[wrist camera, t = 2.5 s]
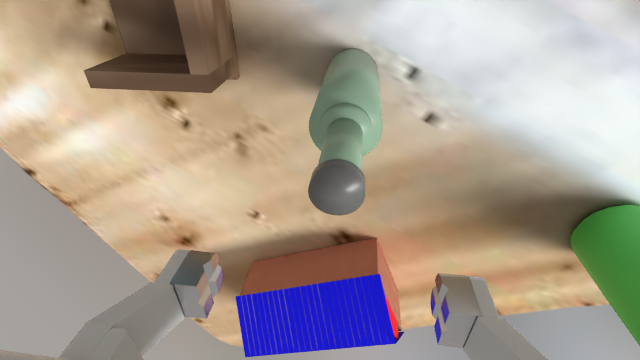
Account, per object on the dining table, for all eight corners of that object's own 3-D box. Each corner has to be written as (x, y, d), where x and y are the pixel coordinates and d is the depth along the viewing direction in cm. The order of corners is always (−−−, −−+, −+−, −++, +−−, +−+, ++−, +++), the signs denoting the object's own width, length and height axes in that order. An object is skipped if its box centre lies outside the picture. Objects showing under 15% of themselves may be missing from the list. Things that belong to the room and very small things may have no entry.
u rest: (99, -55, 28) (32, -57, 23) (221, -56, 27) (182, -59, 22) (139, 73, 35) (94, 96, 29) (239, 76, 34) (213, 101, 28)
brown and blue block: (250, 259, 50) (222, 331, 40) (378, 234, 44) (381, 312, 34) (283, 306, 56) (265, 379, 46) (400, 290, 50) (408, 370, 40)
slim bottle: (327, 47, 31) (283, 146, 15) (380, 49, 30) (393, 152, 14) (326, 98, 34) (289, 227, 18) (375, 100, 33) (382, 234, 17)
